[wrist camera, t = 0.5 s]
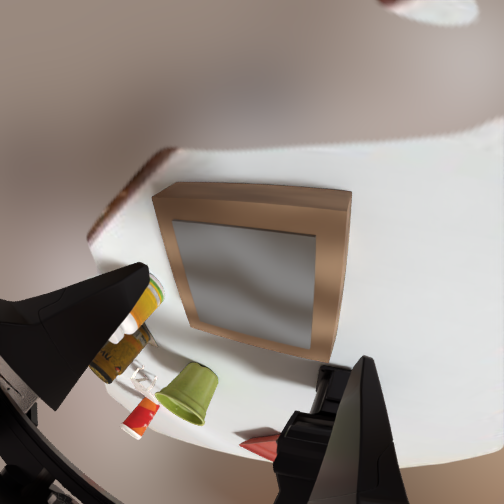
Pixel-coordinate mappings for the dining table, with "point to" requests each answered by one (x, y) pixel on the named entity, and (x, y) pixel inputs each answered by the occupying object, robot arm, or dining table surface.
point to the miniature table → (142, 388)
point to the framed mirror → (259, 261)
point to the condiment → (120, 354)
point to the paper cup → (140, 418)
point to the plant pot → (190, 393)
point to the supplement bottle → (141, 310)
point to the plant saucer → (262, 446)
